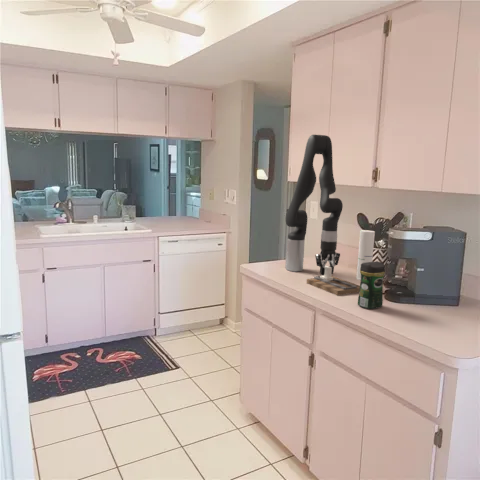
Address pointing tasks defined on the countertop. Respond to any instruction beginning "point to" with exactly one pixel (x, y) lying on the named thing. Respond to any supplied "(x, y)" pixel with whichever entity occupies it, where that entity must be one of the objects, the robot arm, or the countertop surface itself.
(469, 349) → the countertop surface
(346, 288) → the wooden board
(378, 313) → the countertop surface
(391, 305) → the countertop surface
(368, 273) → the coffee jar
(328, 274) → the fader
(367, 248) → the cylindrical container
